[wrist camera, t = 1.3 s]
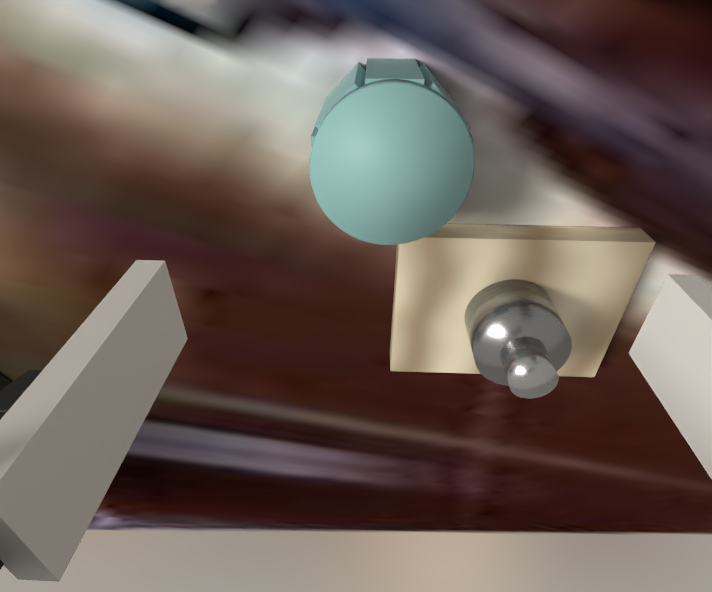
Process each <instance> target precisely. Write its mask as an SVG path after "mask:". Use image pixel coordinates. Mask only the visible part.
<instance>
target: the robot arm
mask: <svg viewBox="0 0 712 592" xmlns="http://www.w3.org/2000/svg"><path fill="white" fill-rule="evenodd" d="M187 339H188V338H187V335H186V331H185V328H184V325H183V321H182V318H181V314H180V311H179V307H178V304H177V301H176V297H175V294H174V290H173V287H172V283H171V280H170V277H169V273H168V270H167V266H166V263H165V261H154V260H136V261H135V263H134V264H133V265H132V266H131V267H130V268H129V270H128V271H127V272H126V273H125V274H124V275H123V277H122V278H121V279H120V280H119V281H118V282H117V284H116V285H115V286H114V287H113V288H112V290H111V291H110V292H109V293H108V294H107V295H106V297H105V298H104V299H103V300H102V301H101V302H100V304H99V305H98V306H97V307H96V308H95V309H94V311H93V312H92V313H91V314H90V315H89V316H88V318H87V319H86V320H85V321H84V322H83V323H82V325H81V326H80V327H79V328H78V329H77V331H76V332H75V333H74V334H73V335H72V336H71V338H70V339H69V340H68V341H67V342H66V343H65V345H64V346H63V347H62V348H61V349H60V350H59V352H58V353H57V354H56V355H55V356H54V357H53V359H52V360H51V361H50V362H49V363H48V365H47V366H46V367H45V368H44V369H43V370H42V371H37V370H29V371H27V372H26V373H25V374H23V375H22V376H20V377H19V378H17V379H16V380H14V381H13V382H11V381H9V380H8V379H7V378H5V377H4V376H2V375H1V374H0V569H1V567H2V566H3V565H4V566H5V567H6V568H7V569H8V570H9V571H10V572H11V573H12V574H13V575H14V576H15V577H16V578H17V579H21V580H22V579H23V580H41V581H60V579H61V577H62V575H63V573H64V571H65V570H66V568H67V566H68V564H69V562H70V560H71V558H72V556H73V554H74V552H75V551H76V549H77V546H78V545H79V543H80V541H81V539H82V537H83V535H84V534H85V532H86V530H87V528H88V526H89V524H90V522H91V520H92V518H93V517H94V515H95V513H96V511H97V509H98V507H99V505H100V503H101V501H102V500H103V498H104V496H105V494H106V492H107V490H108V488H109V486H110V484H111V483H112V481H113V479H114V477H115V475H116V473H117V471H118V469H119V467H120V465H121V464H122V462H123V460H124V458H125V456H126V454H127V452H128V450H129V448H130V447H131V445H132V443H133V441H134V439H135V437H136V435H137V433H138V431H139V430H140V428H141V426H142V424H143V422H144V420H145V418H146V416H147V414H148V413H149V411H150V409H151V407H152V405H153V403H154V401H155V399H156V397H157V396H158V394H159V392H160V390H161V388H162V386H163V384H164V382H165V380H166V378H167V377H168V375H169V373H170V371H171V369H172V367H173V365H174V363H175V361H176V360H177V358H178V356H179V354H180V352H181V350H182V348H183V346H184V344H185V343H186V341H187ZM629 354H630V356H631V358H632V359H633V361H634V362H635V364H636V365H637V367H638V368H639V370H640V371H641V373H642V374H643V376H644V377H645V379H646V380H647V382H648V383H649V385H650V386H651V388H652V389H653V391H654V392H655V394H656V396H657V397H658V399H659V400H660V402H661V403H662V405H663V406H664V408H665V409H666V411H667V412H668V414H669V415H670V417H671V418H672V420H673V421H674V423H675V424H676V426H677V427H678V429H679V430H680V432H681V434H682V435H683V437H684V438H685V440H686V441H687V443H688V444H689V446H690V447H691V449H692V450H693V452H694V453H695V455H696V456H697V458H698V459H699V461H700V462H701V464H702V465H703V467H704V468H705V470H706V472H707V473H708V475H709V476H710V478H711V479H712V287H710V286H709V285H708V284H707V283H706V282H705V281H704V280H703V279H702V278H701V277H700V276H699V275H668V276H667V278H666V280H665V282H664V284H663V286H662V288H661V290H660V292H659V294H658V296H657V298H656V300H655V302H654V304H653V306H652V308H651V310H650V312H649V314H648V316H647V317H646V319H645V321H644V323H643V325H642V327H641V329H640V331H639V333H638V335H637V337H636V339H635V341H634V343H633V345H632V347H631V349H630V351H629Z"/></svg>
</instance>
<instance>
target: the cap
mask: <svg viewBox="0 0 712 592" xmlns="http://www.w3.org/2000/svg"><path fill="white" fill-rule="evenodd" d="M469 129H470V126H469V125H468V123H467V122H466V120H465V118H464V117H463V115H462V114H461V112H460V110H459V109H458V107H457V106H456V104H455V102H454V101H453V99H452V98H451V97H450V96H449V94H448V93H447V92H446V91H445V89H444V88H443V87H442V86H441V84H440V83H439V82H438V81H437V79H436V78H435V77H434V76H433V74H432V73H431V72H430V71H429V69H428V68H427V67H426V66H425V65H424V63H423V64H422V65H421V66H420V67H419V66H418V64H417V62H416V60H415V59H367V64H366V70H365V69H364V68H363V67H362V66H361V65H360V64H359V62H358V64H357V65H356V66H355V67H354V68H353V69H352V70H351V71H350V72H349V73H348V75H347V76H346V77H345V78H344V79H343V80H342V81H341V82H340V83H339V84H338V86H337V87H336V88H335V89H334V90H333V91H332V92H331V93H330V94H329V96H328V97H327V98H326V100H325V102H324V105H323V107H322V109H321V112H320V114H319V117H318V119H317V122H316V124H315V128H314V130H313V133H312V135H311V141H312V150H311V156H310V178H311V184H312V188H313V192H314V194H315V197H316V199H317V201H318V203H319V205H320V207H321V208H322V210H323V211H324V213H325V214H326V215H327V217H328V218H329V219H330V220H331V221H332V222H333V223H334V224H335V225H336V226H337V227H339V228H340V229H341V230H343V231H344V232H346V233H347V234H349V235H351V236H353V237H355V238H357V239H359V240H363V241H366V242H369V243H374V244H381V245H398V244H405V243H409V242H413V241H416V240H419V239H421V238H424V237H426V236H428V235H430V234H432V233H434V232H435V231H437V230H438V229H439V228H441V227H442V226H443V225H445V224H446V223H447V222H448V221H449V220H450V219H451V218H452V217H453V216H454V215H455V213H456V212H457V211H458V209H459V208H460V207H461V205H462V204H463V202H464V200H465V198H466V196H467V194H468V191H469V189H470V186H471V182H472V178H473V172H474V152H473V146H472V142H473V137H472V136H471V134H470V132H469V131H468V130H469Z"/></svg>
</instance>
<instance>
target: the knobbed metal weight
mask: <svg viewBox="0 0 712 592" xmlns="http://www.w3.org/2000/svg"><path fill="white" fill-rule="evenodd" d="M464 319H465V325H466V329H467V333H468V337H469V341H470V345H471V348H472V352H473V356H474V360H475V364H476V367H477V369H478V370H479V372H480V373H481V374H482V375H483V376H484V377H486V378H487V379H489V380H490V381H493V382H495V383H498V384H502V385H509V387H510V390H511V391H512V392H513V393H514V394H515V395H517V396H519V397H522V398H537V397H541V396H544V395H546V394H548V393H549V392H551V391H552V390H553V389H554V388H555V387H556V386H557V384H558V379H559V378H558V374H557V371H558V370H559V369H560V368H561V367H562V366H563V365H564V364H565V363H566V361H567V360H568V358H569V356H570V353H571V350H572V340H571V337H570V335H569V333H568V331H567V329H566V327H565V325H564V323H563V321H562V320H561V318H560V316H559V314H558V312H557V310H556V309H555V307H554V305H553V303H552V301H551V299H550V297H549V296H548V294H547V293H546V291H545V290H544V289H543V288H542V287H540V286H539V285H537V284H535V283H533V282H530V281H526V280H520V279H510V280H503V281H499V282H496V283H493V284H491V285H489V286H487V287H485V288H484V289H482V290H481V291H479V292H478V293H477V294H476V295H475V296H474V297H473V298H472V299H471V301H470V302H469V304H468V306H467V308H466V311H465V317H464Z"/></svg>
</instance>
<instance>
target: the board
mask: <svg viewBox="0 0 712 592" xmlns="http://www.w3.org/2000/svg"><path fill="white" fill-rule="evenodd" d="M655 243H656V242H655V241H654V240H653V239H652V238H651V237H650V236H649V235H647V234H646V233H645V232H644V231H643V230H642V229H641V228H629V227H580V226H531V225H482V224H445V225H443V226H442V227H441V228H439V229H438V230H437V231H435V232H434V233H432V234H430V235H428V236H426V237H424V238H421V239H419V240H416V241H413V242H409V243H405V244H398V245H397V253H396V268H395V283H394V298H393V313H392V328H391V343H390V371H408V372H442V373H475V374H481V373H480V372H479V370H478V369H477V367H476V364H475V360H474V356H473V352H472V348H471V345H470V341H469V337H468V333H467V329H466V325H465V319H464V317H465V311H466V308H467V306H468V304H469V302H470V301H471V299H472V298H473V297H474V296H475V295H476V294H477V293H478V292H479V291H481V290H482V289H484V288H485V287H487V286H489V285H491V284H493V283H496V282H499V281H503V280H510V279H520V280H526V281H530V282H533V283H535V284H537V285H539V286H540V287H542V288H543V289H544V290H545V291H546V293H547V294H548V296H549V297H550V299H551V301H552V303H553V305H554V307H555V309H556V310H557V312H558V314H559V316H560V318H561V320H562V321H563V323H564V325H565V327H566V329H567V331H568V333H569V335H570V337H571V340H572V350H571V353H570V356H569V358H568V360H567V361H566V363H565V364H564V365H563V366H562V367H561V368H560V369H559V370H558V371H557V374H558V376H577V377H595V375H596V372H597V370H598V368H599V366H600V364H601V361H602V359H603V357H604V355H605V353H606V350H607V348H608V346H609V344H610V342H611V339H612V337H613V335H614V333H615V331H616V329H617V326H618V324H619V322H620V320H621V318H622V315H623V313H624V311H625V309H626V307H627V304H628V302H629V300H630V298H631V296H632V294H633V291H634V289H635V287H636V285H637V283H638V280H639V278H640V276H641V274H642V272H643V269H644V267H645V265H646V263H647V261H648V259H649V256H650V254H651V252H652V250H653V248H654V245H655Z"/></svg>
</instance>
